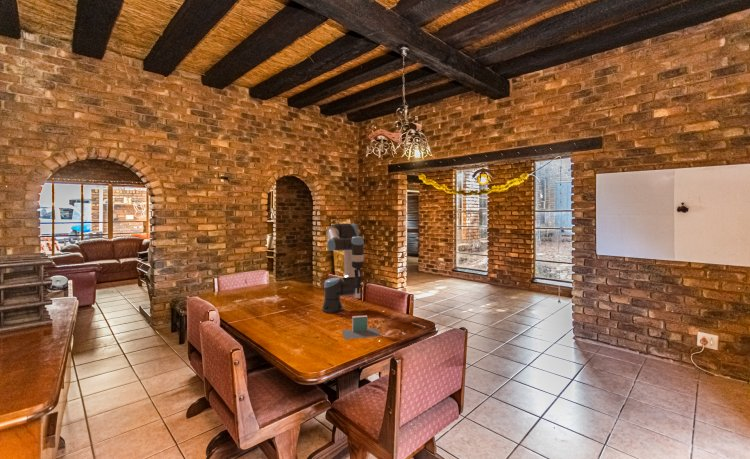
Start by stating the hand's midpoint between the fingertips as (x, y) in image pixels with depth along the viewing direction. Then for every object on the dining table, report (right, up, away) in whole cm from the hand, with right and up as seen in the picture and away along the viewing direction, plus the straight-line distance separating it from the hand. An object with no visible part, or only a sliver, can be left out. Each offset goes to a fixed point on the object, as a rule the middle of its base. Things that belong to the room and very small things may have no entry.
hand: (357, 297), depth 213 cm
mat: (+2, -20, -10) cm, 22 cm away
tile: (+2, -19, -6) cm, 20 cm away
